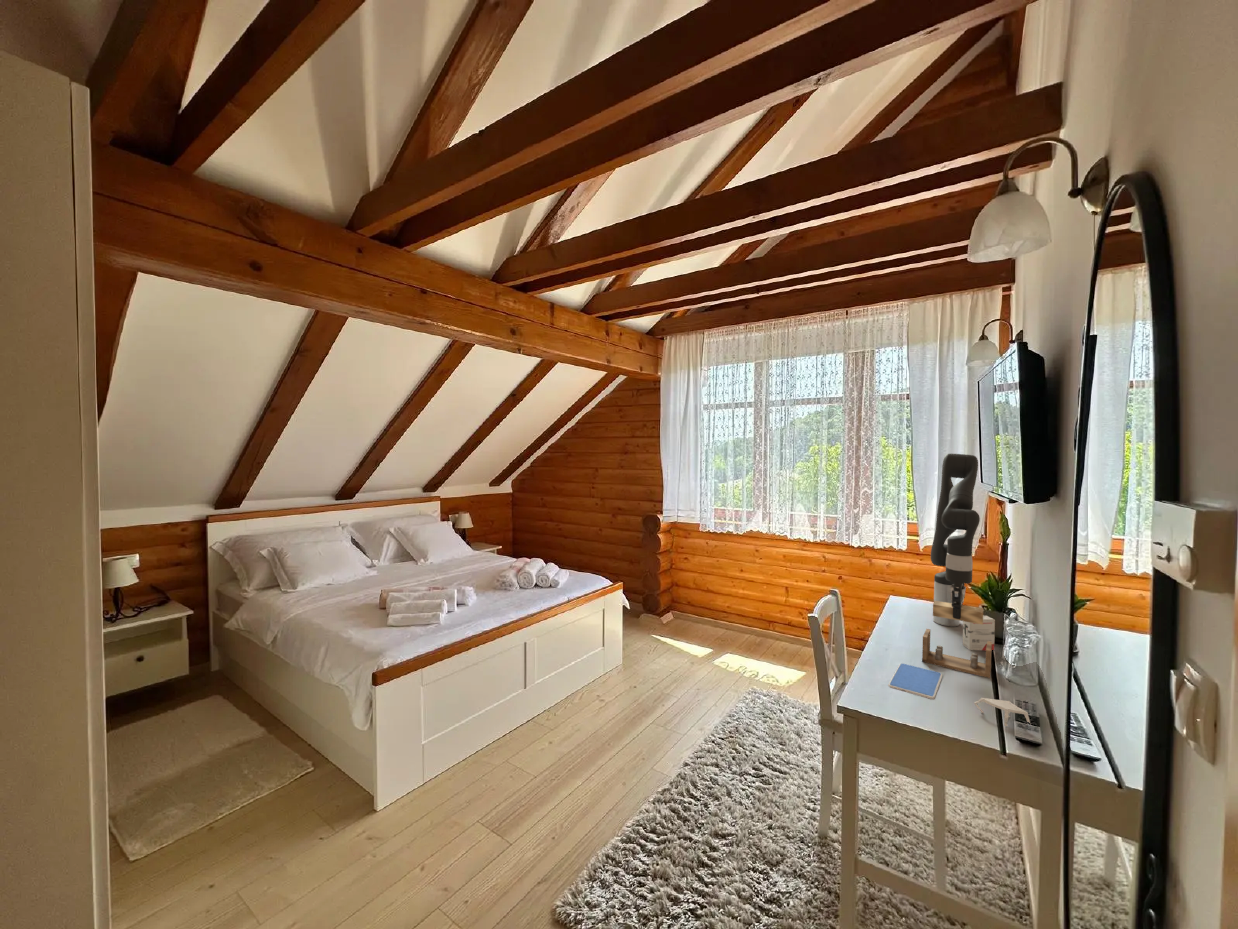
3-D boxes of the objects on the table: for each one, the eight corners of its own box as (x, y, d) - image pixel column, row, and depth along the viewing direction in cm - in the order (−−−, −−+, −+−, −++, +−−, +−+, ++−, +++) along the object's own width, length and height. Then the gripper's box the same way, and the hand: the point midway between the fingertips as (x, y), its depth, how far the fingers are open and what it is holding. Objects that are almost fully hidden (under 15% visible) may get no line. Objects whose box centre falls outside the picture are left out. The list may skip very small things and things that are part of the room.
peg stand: (925, 652, 179) (926, 628, 179) (991, 667, 167) (991, 642, 167) (922, 661, 172) (922, 636, 172) (989, 678, 160) (990, 651, 160)
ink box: (986, 645, 185) (987, 614, 184) (994, 651, 180) (995, 619, 179) (961, 644, 186) (962, 614, 185) (969, 650, 181) (970, 619, 180)
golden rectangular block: (982, 620, 167) (983, 608, 166) (982, 624, 163) (983, 612, 162) (934, 611, 175) (934, 600, 175) (932, 615, 171) (933, 604, 171)
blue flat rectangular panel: (934, 701, 148) (934, 697, 148) (887, 688, 156) (887, 684, 156) (942, 676, 163) (943, 673, 163) (899, 665, 171) (899, 662, 171)
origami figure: (1025, 719, 137) (1026, 702, 137) (1030, 734, 130) (1031, 716, 130) (973, 706, 144) (973, 690, 144) (974, 720, 137) (975, 703, 137)
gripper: (970, 573, 160) (969, 625, 161) (973, 564, 171) (972, 612, 172) (943, 570, 165) (942, 619, 166) (948, 561, 176) (946, 608, 177)
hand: (957, 615), depth 169 cm, fingers closed on golden rectangular block, 5 cm apart
